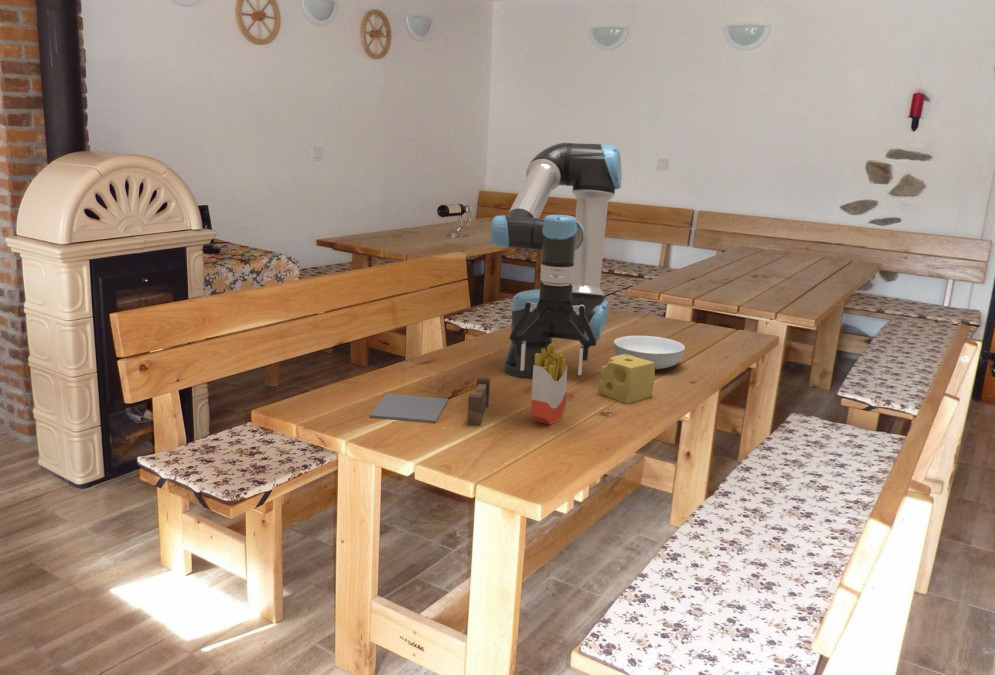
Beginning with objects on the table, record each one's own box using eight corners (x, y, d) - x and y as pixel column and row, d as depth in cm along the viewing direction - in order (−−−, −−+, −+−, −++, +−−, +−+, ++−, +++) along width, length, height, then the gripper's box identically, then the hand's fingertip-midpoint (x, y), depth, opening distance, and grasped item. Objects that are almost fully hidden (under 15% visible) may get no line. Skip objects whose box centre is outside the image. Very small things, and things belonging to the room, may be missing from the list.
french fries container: (566, 415, 203) (570, 344, 199) (547, 428, 194) (551, 355, 190) (549, 411, 206) (553, 341, 201) (529, 424, 196) (533, 351, 192)
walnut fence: (477, 403, 209) (478, 377, 207) (488, 404, 209) (490, 378, 207) (467, 424, 195) (468, 396, 193) (480, 425, 194) (481, 397, 193)
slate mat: (386, 395, 212) (386, 393, 212) (448, 400, 210) (448, 398, 210) (369, 417, 197) (369, 415, 197) (435, 422, 195) (435, 420, 195)
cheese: (597, 394, 220) (600, 358, 218) (624, 387, 227) (627, 352, 224) (627, 405, 213) (630, 368, 210) (654, 397, 219) (657, 361, 217)
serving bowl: (689, 362, 253) (691, 340, 251) (673, 380, 234) (675, 357, 233) (623, 352, 261) (625, 331, 259) (602, 369, 243) (604, 346, 241)
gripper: (500, 282, 189) (496, 371, 194) (611, 289, 186) (604, 379, 191) (504, 276, 196) (500, 363, 201) (610, 283, 193) (604, 370, 199)
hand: (551, 371), depth 196 cm, fingers open, 13 cm apart
